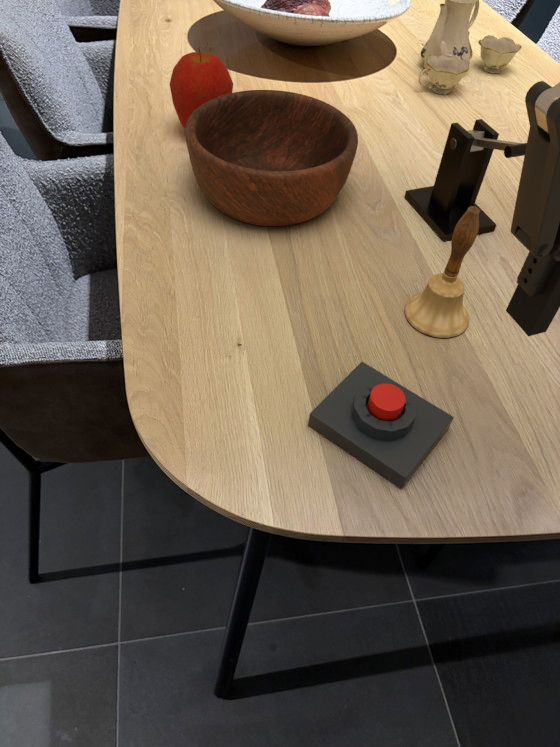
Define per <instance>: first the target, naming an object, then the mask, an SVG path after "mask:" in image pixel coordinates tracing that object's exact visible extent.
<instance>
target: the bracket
mask: <svg viewBox="0 0 560 747" xmlns="http://www.w3.org/2000/svg"><path fill="white" fill-rule="evenodd" d="M472 130H476V131H484V132H485V134H484V138H488V139H495V140H499V135H500V133H499V132H497V131H496V130H495V129H494V128H493V127H492V126H490V125H489V124H488V123H487V122H486V121H484V119H482V118H478V119H475V121H474V124H473V127H472ZM467 131H468V130H466V129H465V128H464V127H463V126H462V125H461V124H460V123H459V122H451V124H450V127H449V131H448V134H447V138H446V141H445V144H444V149H443V151H442V154H441V155H442V156H441V158H440V163H439V166H438V169H437V172H436V176H435V180H434V183H433V185H430V186H424V187H419V188H413V189H407V190H405V193H404V199H405V200H407V202H408V203H409V204H410V206H412V208H413V209H414V210H415V211H416V212H417V213H418V214H419V216H420V217H421V218H422V219H423V220H424V222H425V223H426V224H427V225H428V226H429V227H430V228H431V230H433V232H434V233H435V234H436V235H437V237H439V239H440V240H441V241H442V242H444V243H445V242H448V241H452V236H453V232H454V229H455V227H456V225H457V223H458V221H459V220H460V219H461V217H462V216H463V215H464V214H465V212H466V211H467V209H468V208H469V207H470V206H474V207H477V208H478V209H479V210H480V212H479V229H478V234H477V236H478V235H482V234H488V233H492V232H495V230H496V228H497V223H495V221H494V220H492V219H491V217H490V216H489V215H488V214H487V213H486V212H485V211H484V210H482V208H481V207H480V206H479V205H478V204H477V203H476V201H477V198H478V197H479V193H480V190H481V187H482V184H483V182H484V178H485V176H486V173H487V170H488V167H489V164H490V161H491V158H492V157H493V153H494V150H495V149H490V148H483V150H479V151H473V152H470V150H471V147H472V144H473V141H474V137H473V136H472V135H471V134H470V133H468V132H467Z"/></svg>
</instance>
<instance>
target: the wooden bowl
mask: <svg viewBox="0 0 560 747" xmlns="http://www.w3.org/2000/svg"><path fill="white" fill-rule="evenodd" d="M184 129H185V130H184V134H185V142H186V147H187V148H186V149H187V153H188V157H189V161H190V165H191V168H192V172H193V175H194V178H195V180H196V183H197V185H198V187H199V188H200V190H201V191H202V193H203V195H204V196H205V197H206V199H207V200H208V201H209V203H210V204H211V205H212V206H214V207H215V208H216V209H217V210H218V211H220V212H221V213H223V214H225V215H226V216H228V217H229V218H232V219H234V220H237V221H239V222H243V223H246V224H250V225H255V226H263V227H287V226H292V225H298V224H302V223H305V222H307V221H310V220H312V219H314V218H316V217H318V216H319V215H321V214H323V213H324V212H325V211H326V210H327V209H329V207H331V205H332V204H334V202H335V200H336V199H337V198H338V196H339V195H340V194H341V192H342V191H343V189H344V186H345V185H346V183H347V180H348V179H349V178H348V177H349V176H350V173H351V170H352V166H353V163H354V160H355V158H356V154H357V151H358V146H359V135H358V131H357V129H356V126H355V124H354V123H353V122H352V120H351V119H350V118H349V117H348V116H347V115H346V114H345V113H344V112H342V111H341V110H340V109H338V108H337V107H335V106H333V104H330V103H328V102H326V101H323V100H321V99H318V98H315V97H313V96H310V95H306V94H303V93H298V92H293V91H286V90H277V89H250V90H240V91H235V92H234V91H233V92H232V93H229V94H226V95H222V96H219V97H216V98H214V99H211V100H209V101H207V102H206V103H204V104H202V105H201V106H199V107H198V108H197V109H196V110H195V111H194V112H193V113H192V114H191V115H190V117H189V119H188V121H187V124H186V128H184Z"/></svg>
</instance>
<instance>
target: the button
mask: <svg viewBox="0 0 560 747" xmlns="http://www.w3.org/2000/svg"><path fill="white" fill-rule="evenodd" d="M404 404H405V395H404V393H403V392H402V390H401V389H399V388H398V387H396V386H394V385H392V384H379V385H377V386H375V387H374V388H373V389H372V391H371V394H370V397H369V401H368V409H369V411H370V413H371V414H372V415H373V416H374V417H376V418H378V419H380V420H384V421H391V420H395V419H397V418H398V417H399V416H400V415H401V413H402V410H403V407H404Z"/></svg>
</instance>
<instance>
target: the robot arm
mask: <svg viewBox="0 0 560 747" xmlns="http://www.w3.org/2000/svg"><path fill="white" fill-rule="evenodd" d="M524 102H525V107H526V113H527V118H528V121H529V122H528V124H529V129H528V130H529V131H528V134H527V141H526V143H527V145H526V151H525V155H524V156H523V162H522V167H521V171H520V177H519V184H518V187H517V194H516V198H515V199H516V200H515V204H514V205H515V206H514V210H513V214H512V220H511V224H510V225H511V226H510V233H511V234H512V235H513V236H514V237H515V238H516V240H517V241H519V242H520V244H521V245H522V246H524V248H525V249H526V250H528V253H527V255H526V258H525V259H524V262H523V264H522V266H521V269H520V271H519V272H518V275H517V277H516V284H517V286H516V288H515V290H514V291H513V294H512V296H511V298H510V300H509V302H508V305H507V307H506V309H505V311H506V313H507V314H508V315H509V316H510V317H511V319H513V321H514V322H515V323H516V324H517V325H518V327H519V328H520V329H521V331H523V333H525V334H526V336H527V337H532V336H536V335H539V334H544V333H547V331H548V329H549V327H550V325H551V324H552V322H553V320H554V318H555V316H556V315H557V314H558V311H559V309H560V81H559V82H558V83H557V84H555V85H554V86H551V85H550V84H549V83H547V82H546V81H545V80H540V81H537V82H535V83H534V84H532V85H531V86H530V87H529V89H528V91H527V92H526V94H525V97H524Z"/></svg>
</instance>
